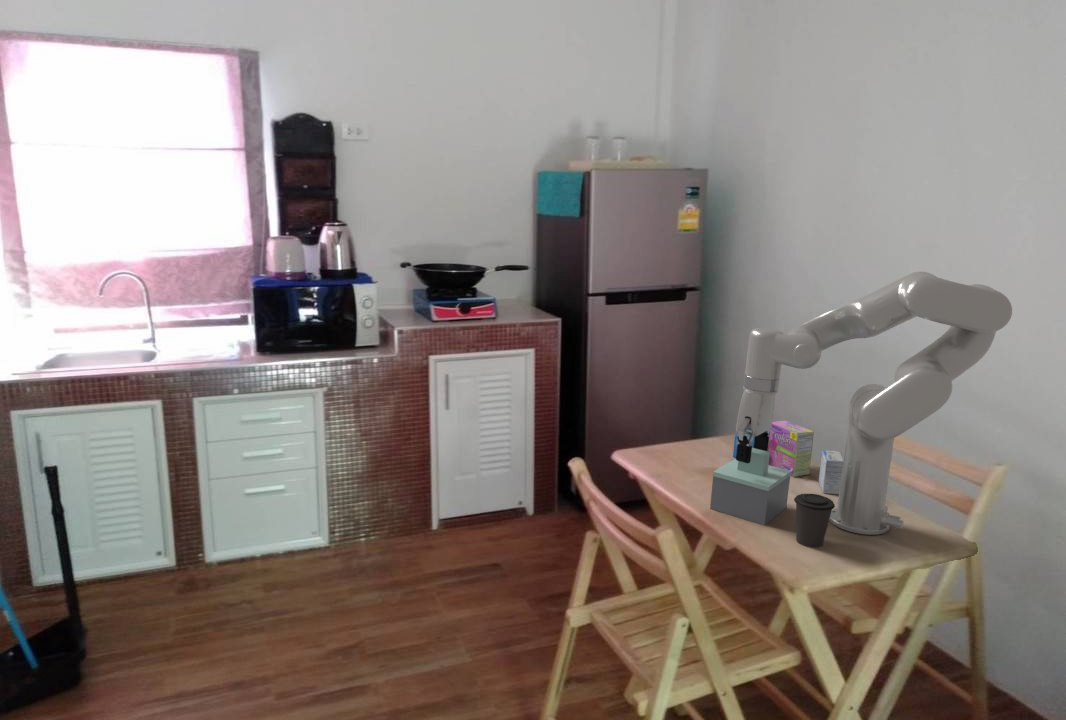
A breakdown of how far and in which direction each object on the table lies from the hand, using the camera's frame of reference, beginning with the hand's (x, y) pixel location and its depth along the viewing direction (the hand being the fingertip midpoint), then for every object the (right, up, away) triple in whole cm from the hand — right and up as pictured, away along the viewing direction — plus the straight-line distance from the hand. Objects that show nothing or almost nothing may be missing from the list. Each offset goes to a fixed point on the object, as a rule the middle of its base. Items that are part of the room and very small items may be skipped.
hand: (751, 456), depth 185 cm
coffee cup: (+9, -17, -13) cm, 23 cm away
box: (+17, -7, +29) cm, 35 cm away
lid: (0, -5, +1) cm, 6 cm away
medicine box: (+24, -10, +17) cm, 31 cm away
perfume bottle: (+9, -5, +37) cm, 38 cm away
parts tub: (0, -12, +3) cm, 13 cm away
